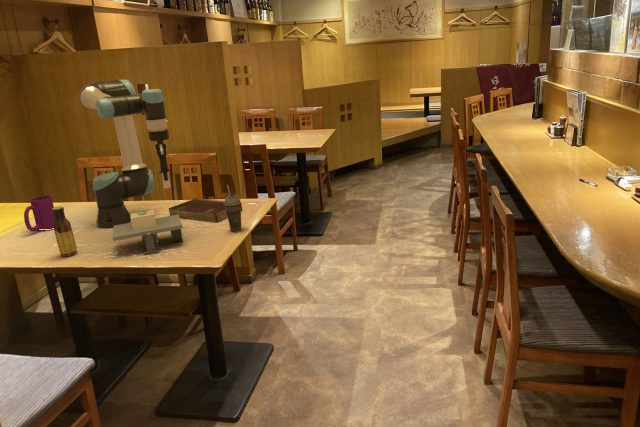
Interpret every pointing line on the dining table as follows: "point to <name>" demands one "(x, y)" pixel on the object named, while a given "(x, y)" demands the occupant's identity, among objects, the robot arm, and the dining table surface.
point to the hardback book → (201, 210)
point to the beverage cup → (233, 211)
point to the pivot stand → (152, 241)
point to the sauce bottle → (64, 233)
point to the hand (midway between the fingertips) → (167, 187)
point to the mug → (40, 213)
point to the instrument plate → (141, 232)
